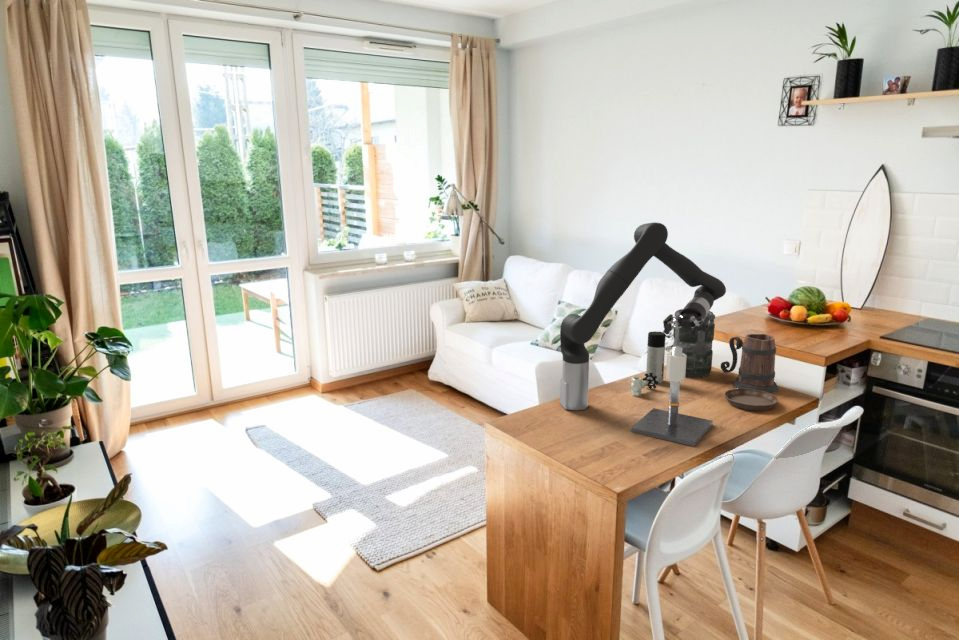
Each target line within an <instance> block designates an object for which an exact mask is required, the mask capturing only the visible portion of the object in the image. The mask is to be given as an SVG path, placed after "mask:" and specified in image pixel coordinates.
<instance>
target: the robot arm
mask: <svg viewBox="0 0 959 640" xmlns="http://www.w3.org/2000/svg"><path fill="white" fill-rule="evenodd" d="M668 235H669V231H668V228H667V227H666V225H664V224H663V223H661V222H649V223H642V224H640V225H639V226H638V227H637V228H636V229H635V231H634V234H633V239H634V242H635V245H634V246H633V247H632V248H631V249H630V250H629V251H628V252H627V253H626V254H625V255H623V256H622V257H621V258H620V259H618V260H617V261H616V262H615V263H613V265H611V267H609V269H607V271H606V272H605V274H604V275H603V276H602V277H601V279H599V281H598V283H597V285H596V289H595V293H594V297H593V300H592V301H591V304H590V305H589V306H588V308H587V309H586V310H585V311H584V313H583V314H582V315H578V314H577V313H576V314H574V313H571V314H567V315H566V316H565V317H564V318H563V319H562V320H561V321H562V322H561V324H560V329H559V338H560V351H561V354H562V378H561V379H560V380H559V381H560V383H559V385H560V386H559V390H560V391H559V393H560V394H559V405H561V407H563V409H564V410H568V411H569V410H570V411H582V410H586V409H588V407H589V405H588V404H589V375H590V374H589V372H590V353H589V351H588V350H587V348H586V345H585V344H586V343H588V342H589V341H590V340H591V339H592V338H593V337H594V335H595V334H596V332H597V331H598V329H599V327H600V326H601V324H602V323H603V321H604V320H605V318H606V317H607V316H608V315H609V312H610V311H611V310H612V309H613V307H614V306H615V305H616V304H617V302H618V301H619V299H620V298H621V297H622V296H623V295H624V294H625V292H626V291H628V290H627V289H628V288H630V286H631V285H632V283H633V281H634V280H635V279H636V278H637V276H638V275H639V274H640V272H641V271H642V270H643V269H644V267H645V266H646V265H647V263H648V262H649V261H650V260H651V259H652V258H656V260H658V261H660V262H661V263H662V264H664V265H665V266H666V267H667V268H669V269H670V270H671V271H672V272H673V273H675V274H676V275H677V276H678V277H679V279H681V280H682V281H683V282H684V283H685V284H686V285H688V286H689V287H690V288H695V287H698V288H696V289H695V291H694V294H693V297H692V298H691V299H690V300H689V301H688V302H687V303H686V305H685V306H684V307H683V308H682V309H683V310H682V311H681V313H680V315H679V316H677V317H675V316H673V315H674V314H669V315H668V316H666V317H665V318H664V320H663V321H662V323H663V328H664V333H665V335H669V334H670V332H671V331H673V330H674V328H676V329H678V328H681V327H689V328H691V327H692V328H693V329H692V330H691V336H692V337H694V336H695V335H697V334H698V332H700V331H703V332H706V331H707V329H708V327H709V326H710V318H709V317H706V316H707V314H708V312H709V311H710V310H711V309H712V307H713V305H714V303H715V301H717V300H718V299H721V298H722V297H724V295H726V292H727V288H726V285H725V283H724V282H723V281H721V279H719V278H717V277H715V276H714V275H711V274H709V273H707V272H706V271H704V270H702V269H701V268H700V266H698V265H697V264H696V263H695V262H694V261H692V260H691V259H690V258H688V257H687V256H685V255H684V254H682V253H680V252H678V251H677V250H675V249H673V248H672V247H671V246H669V245H668V244H667V243H666V242H667V240H668V237H669V236H668ZM705 317H706V318H705ZM704 318H705V319H704ZM677 323H678V324H679V325H677ZM701 323H703V324H702V325H700V324H701Z"/></svg>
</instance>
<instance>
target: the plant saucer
mask: <svg viewBox="0 0 959 640" xmlns="http://www.w3.org/2000/svg"><path fill="white" fill-rule="evenodd" d="M723 395H724V397H725V399H726V400H727V402H728V403H729V404H731V405H732V406H734V407H735V406H736V407H735V408H739V409H742V410H747V411H756V412H757V411H758V412H759V411H766V410H770V409H772V408H773V407H774V406H775V405H776V404H777V403H778V401H779V399H778V397H777V396H776V395H775V394H774V393H768V392H765V391H760V390H755V389H737V388H732V389H728V390H726V391H725V392H724V394H723Z"/></svg>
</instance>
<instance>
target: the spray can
mask: <svg viewBox="0 0 959 640" xmlns="http://www.w3.org/2000/svg"><path fill="white" fill-rule="evenodd" d="M646 345H647V347H646V348H647V350H646V353H647V354H646V372H645V374H646V373H647V374H648V375H650V374H649V373H653V375H652V376H657V378H656V381H658V382H659V383H660V384H662V383H663V382H664V374H665V373H664V369H665V356H666V355H665V351H666V333H665V332H662V331H649V332H648V333H647V344H646ZM647 379H652V380H653V378H652V377H648V378H647ZM653 383H654V381H653V382H652V383H651V384H653ZM659 383H658V384H659ZM658 384H657V385H658Z"/></svg>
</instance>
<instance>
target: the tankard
mask: <svg viewBox="0 0 959 640" xmlns="http://www.w3.org/2000/svg"><path fill="white" fill-rule="evenodd" d="M735 341H736V342H735ZM728 344H729V348H730V352H731V354H732V363H731V364H730V362H729V361H727V360H726V361H722V362H721V363H720V370H721V371H722V372H723V373H725V374H728V373H731V372H733V371H735V369H736V366H737V364H738V351H737V350H740V349H741V356H740V364H739V367H738V377H736V378H734V379H735V380H733V382H732V383H731V384H732V386H733V387H734V389H737V388H738V389H755V390H760V391H765V392H768V393H770V394H775V393H777V391H778V390H779V391H780V387H779V386H778V385H777V382H775V378H776V371H775V370H776V369H775V365H776V353H777V347H776V340H775V337H774V336H772V335H770V334H767V333H749V334H746V335H745V337H744V341H743V340H742V338H741V337H739V336H734V337H733V336H732V337H731V338H730V339H729V343H728ZM735 344H736V345H735ZM730 365H731V366H730ZM778 387H779V388H778ZM779 391H778V392H779ZM774 392H775V393H774Z"/></svg>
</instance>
